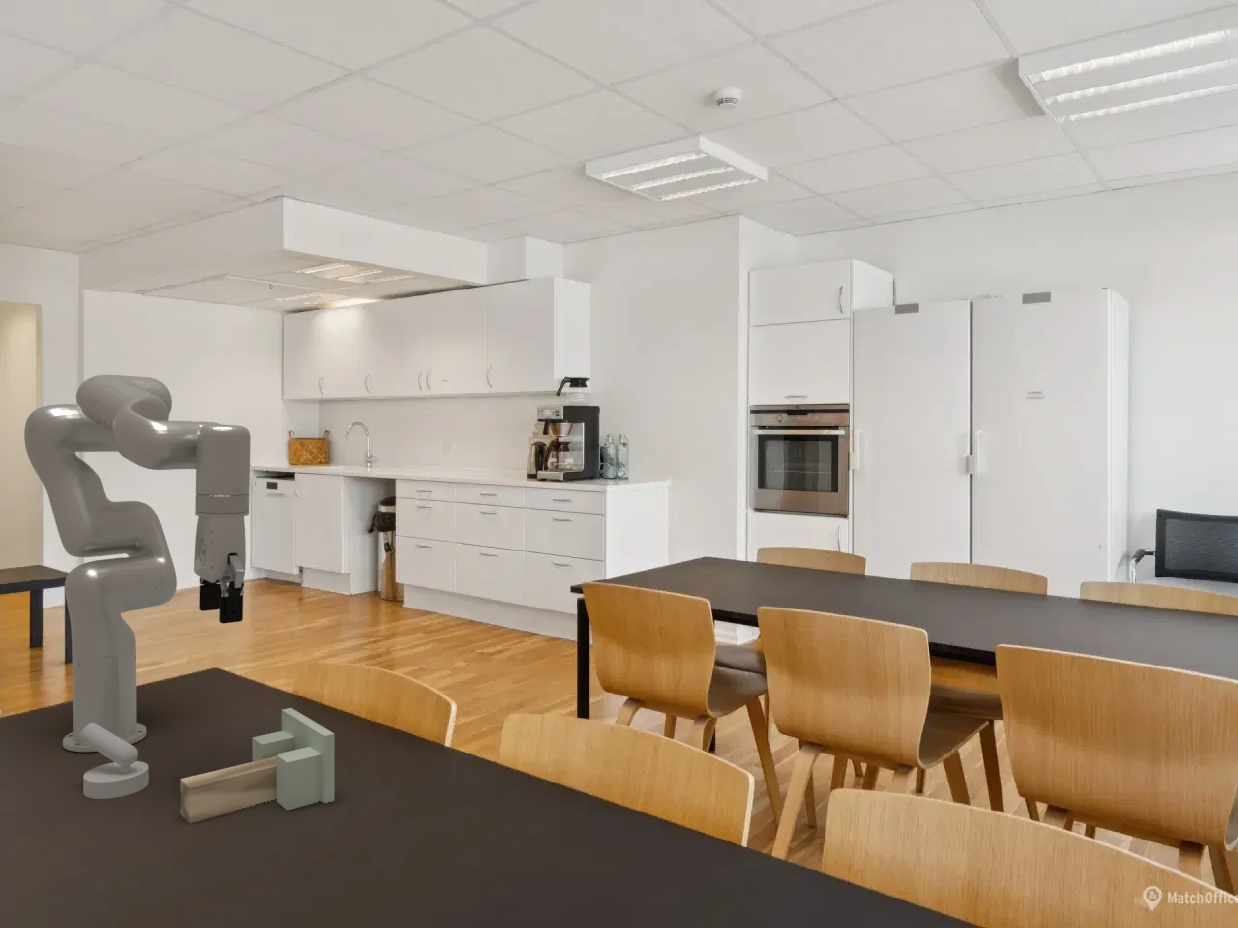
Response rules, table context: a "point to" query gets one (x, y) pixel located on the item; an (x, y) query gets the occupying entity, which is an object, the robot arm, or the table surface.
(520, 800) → the table surface
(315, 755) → the sage panel with pillars
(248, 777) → the rail
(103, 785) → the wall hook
